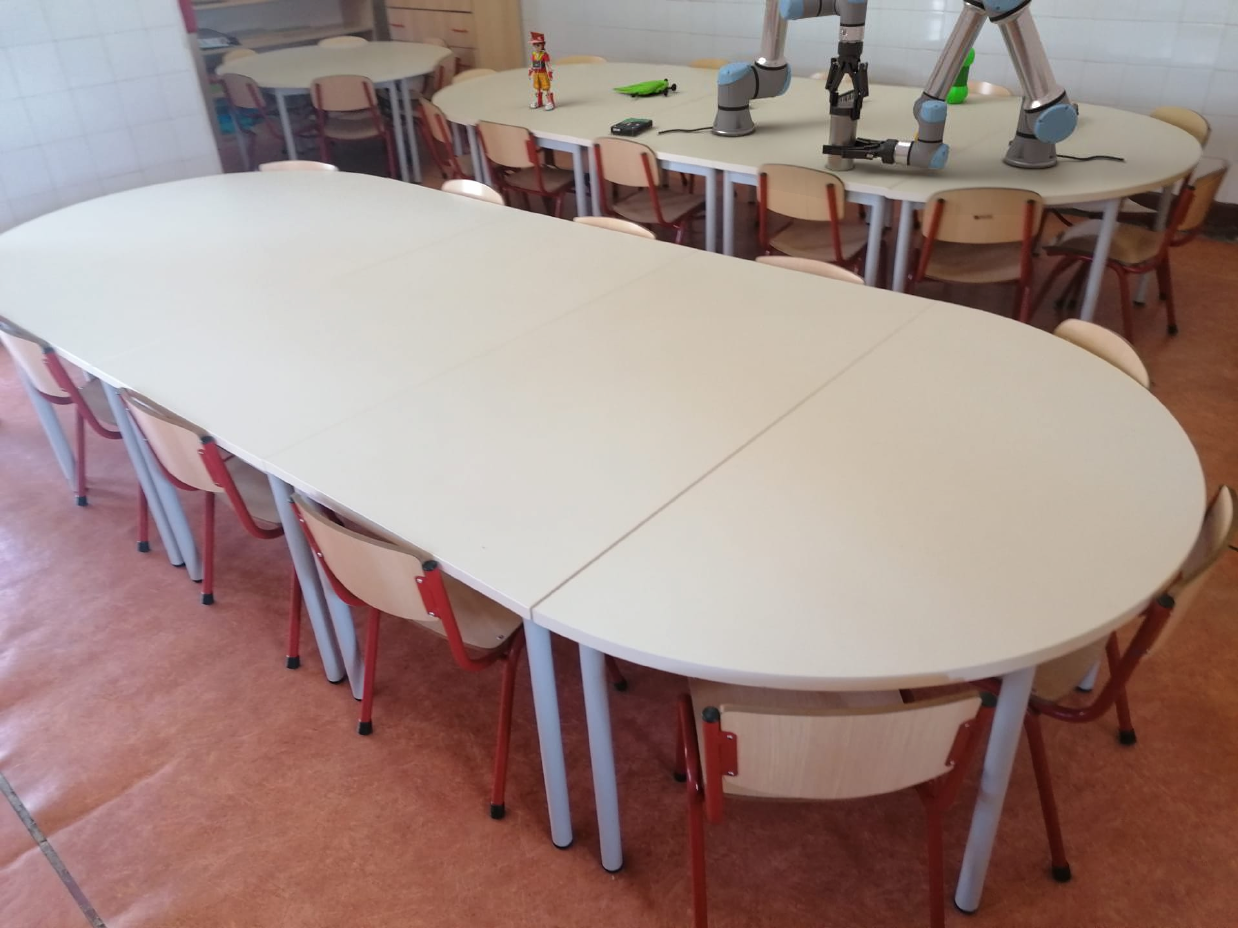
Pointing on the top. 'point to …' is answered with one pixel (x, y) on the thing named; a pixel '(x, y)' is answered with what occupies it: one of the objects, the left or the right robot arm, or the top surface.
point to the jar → (841, 140)
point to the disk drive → (631, 126)
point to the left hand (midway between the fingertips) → (844, 117)
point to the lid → (842, 108)
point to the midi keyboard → (847, 96)
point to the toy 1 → (541, 71)
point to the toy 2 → (648, 88)
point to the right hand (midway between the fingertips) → (827, 145)
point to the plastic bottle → (961, 81)
